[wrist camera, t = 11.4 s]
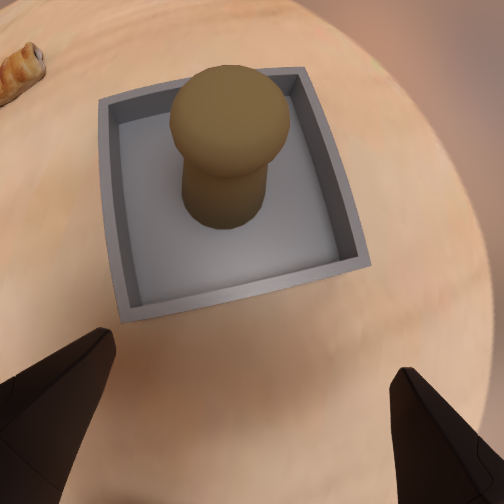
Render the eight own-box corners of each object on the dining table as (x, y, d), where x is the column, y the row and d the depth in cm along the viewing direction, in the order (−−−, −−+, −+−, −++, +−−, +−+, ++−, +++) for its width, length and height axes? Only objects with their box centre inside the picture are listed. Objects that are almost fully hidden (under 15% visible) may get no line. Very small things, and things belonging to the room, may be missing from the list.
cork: (190, 146, 21) (176, 40, 11) (269, 158, 22) (311, 59, 11) (173, 223, 21) (135, 154, 10) (260, 235, 21) (305, 178, 10)
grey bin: (137, 318, 20) (121, 323, 16) (112, 125, 22) (98, 99, 18) (346, 270, 23) (371, 265, 19) (293, 94, 24) (304, 66, 20)
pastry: (-13, 128, 21) (-31, 112, 17) (-16, 95, 21) (-31, 80, 17) (50, 76, 22) (37, 55, 18) (42, 49, 23) (30, 30, 19)
